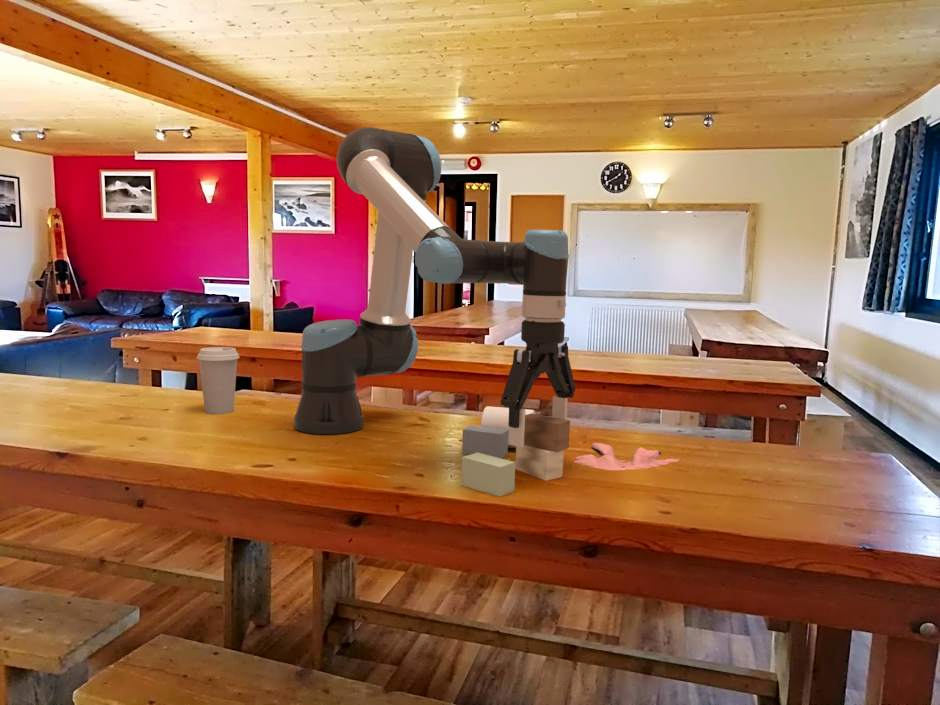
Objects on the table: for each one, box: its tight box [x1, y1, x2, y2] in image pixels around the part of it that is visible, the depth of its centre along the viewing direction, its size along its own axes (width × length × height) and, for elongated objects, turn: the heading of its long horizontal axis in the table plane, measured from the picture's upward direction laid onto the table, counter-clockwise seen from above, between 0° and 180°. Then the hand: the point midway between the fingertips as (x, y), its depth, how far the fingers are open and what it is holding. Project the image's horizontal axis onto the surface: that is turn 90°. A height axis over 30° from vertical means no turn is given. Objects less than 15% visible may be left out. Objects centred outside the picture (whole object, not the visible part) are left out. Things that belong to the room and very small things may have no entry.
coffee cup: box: [196, 346, 240, 415], centre depth 162 cm, size 10×10×15 cm
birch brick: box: [515, 445, 565, 482], centre depth 122 cm, size 8×4×5 cm, turn 38°
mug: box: [480, 405, 536, 449], centre depth 140 cm, size 12×10×8 cm
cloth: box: [573, 442, 680, 471], centre depth 134 cm, size 20×22×2 cm
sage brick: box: [461, 453, 516, 498], centre depth 112 cm, size 8×4×5 cm, turn 51°
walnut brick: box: [524, 413, 571, 453], centre depth 121 cm, size 8×4×5 cm, turn 53°
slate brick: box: [461, 424, 509, 459], centre depth 133 cm, size 8×4×5 cm, turn 67°
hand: (538, 438), depth 121 cm, fingers open, 13 cm apart
